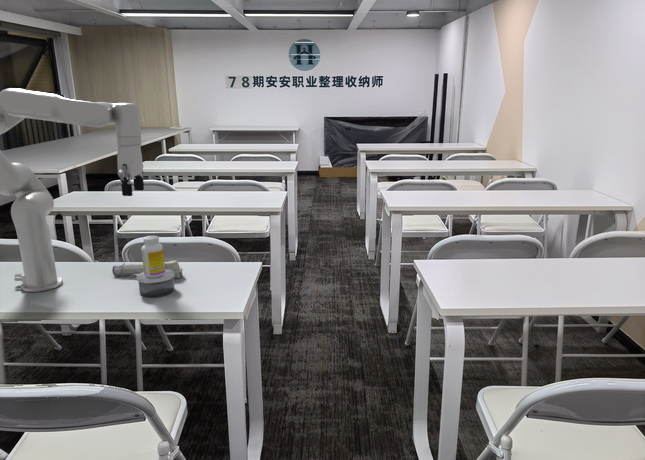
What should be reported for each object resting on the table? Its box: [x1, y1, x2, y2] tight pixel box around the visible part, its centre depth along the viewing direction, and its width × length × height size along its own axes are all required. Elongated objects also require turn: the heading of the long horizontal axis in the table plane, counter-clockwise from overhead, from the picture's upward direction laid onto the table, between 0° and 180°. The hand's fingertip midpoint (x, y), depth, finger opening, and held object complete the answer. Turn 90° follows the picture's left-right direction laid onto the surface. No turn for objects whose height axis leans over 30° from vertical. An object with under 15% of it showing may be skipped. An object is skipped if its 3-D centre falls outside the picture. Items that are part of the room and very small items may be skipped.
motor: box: [135, 269, 175, 299], centre depth 169 cm, size 12×13×6 cm
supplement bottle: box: [140, 235, 166, 278], centre depth 166 cm, size 7×7×13 cm
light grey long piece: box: [112, 260, 184, 280], centre depth 182 cm, size 5×7×25 cm
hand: (133, 192), depth 172 cm, fingers open, 9 cm apart
